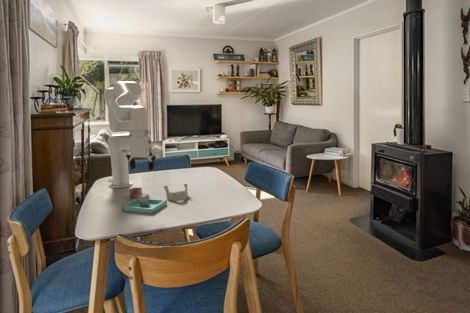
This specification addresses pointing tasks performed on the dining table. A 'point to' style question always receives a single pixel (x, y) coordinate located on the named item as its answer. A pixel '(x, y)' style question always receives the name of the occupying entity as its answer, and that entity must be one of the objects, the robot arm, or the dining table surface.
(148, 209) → the tray
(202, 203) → the dining table surface
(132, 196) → the walnut block
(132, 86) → the robot arm
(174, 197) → the anatomical model
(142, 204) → the grey metal cylinder
